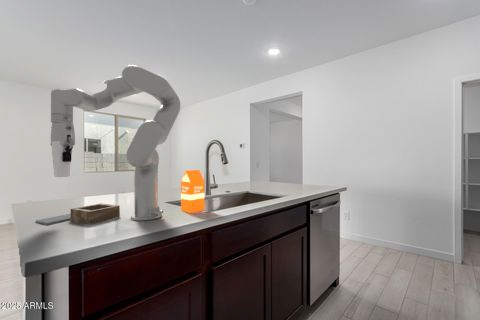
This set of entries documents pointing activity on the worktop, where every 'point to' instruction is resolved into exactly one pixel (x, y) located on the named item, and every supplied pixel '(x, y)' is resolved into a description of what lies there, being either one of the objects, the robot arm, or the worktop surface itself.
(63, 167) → the drinking glass
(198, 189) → the orange juice
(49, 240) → the worktop surface
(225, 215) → the worktop surface
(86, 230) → the worktop surface
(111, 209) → the walnut holder
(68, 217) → the charcoal tile coaster
